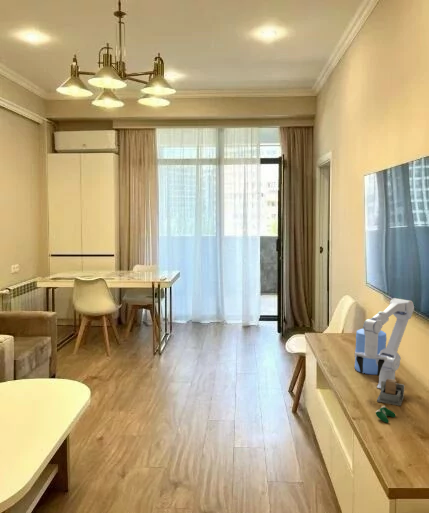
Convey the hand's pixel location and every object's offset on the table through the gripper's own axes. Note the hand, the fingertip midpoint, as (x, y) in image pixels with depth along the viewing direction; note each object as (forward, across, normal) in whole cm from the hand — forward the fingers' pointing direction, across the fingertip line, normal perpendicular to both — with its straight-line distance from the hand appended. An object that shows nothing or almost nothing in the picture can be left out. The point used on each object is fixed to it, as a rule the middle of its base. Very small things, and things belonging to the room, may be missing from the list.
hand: (369, 373), depth 235 cm
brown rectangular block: (+8, +10, -4) cm, 14 cm away
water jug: (+10, -6, +36) cm, 38 cm away
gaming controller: (+10, +11, -26) cm, 30 cm away
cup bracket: (+9, +10, -4) cm, 14 cm away
